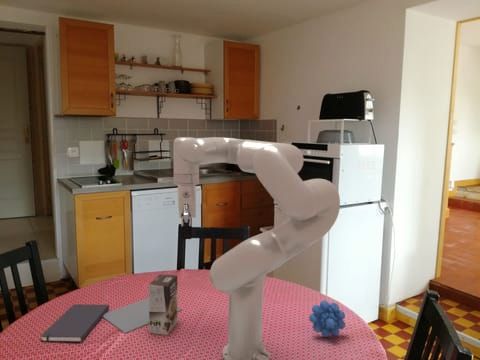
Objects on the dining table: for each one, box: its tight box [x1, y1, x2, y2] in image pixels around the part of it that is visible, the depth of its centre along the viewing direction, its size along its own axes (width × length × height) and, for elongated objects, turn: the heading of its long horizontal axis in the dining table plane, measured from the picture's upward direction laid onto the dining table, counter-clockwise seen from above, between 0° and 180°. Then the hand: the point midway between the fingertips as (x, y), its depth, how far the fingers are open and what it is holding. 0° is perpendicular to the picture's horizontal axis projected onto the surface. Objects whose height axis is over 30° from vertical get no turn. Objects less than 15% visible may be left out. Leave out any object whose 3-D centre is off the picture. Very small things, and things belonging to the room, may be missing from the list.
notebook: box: [40, 303, 110, 343], centre depth 128 cm, size 13×2×21 cm
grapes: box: [308, 300, 346, 338], centre depth 122 cm, size 12×7×12 cm, turn 96°
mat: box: [102, 297, 183, 334], centre depth 137 cm, size 16×22×1 cm
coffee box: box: [148, 273, 179, 336], centre depth 127 cm, size 9×6×16 cm
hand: (186, 234), depth 121 cm, fingers open, 9 cm apart
